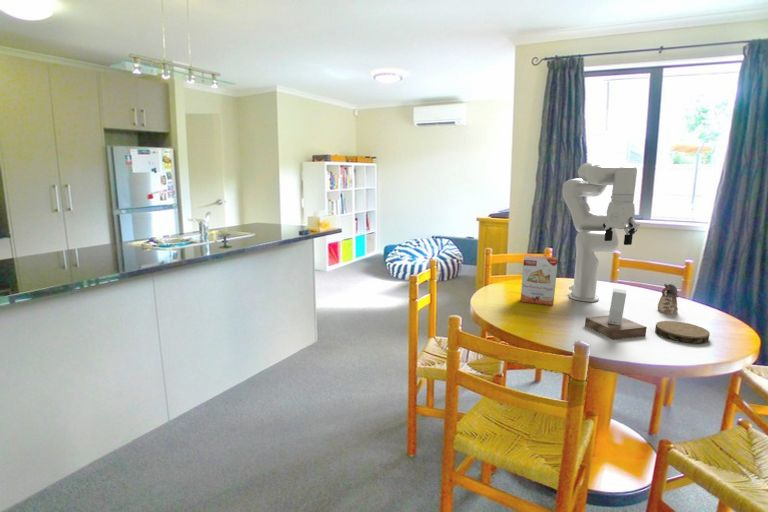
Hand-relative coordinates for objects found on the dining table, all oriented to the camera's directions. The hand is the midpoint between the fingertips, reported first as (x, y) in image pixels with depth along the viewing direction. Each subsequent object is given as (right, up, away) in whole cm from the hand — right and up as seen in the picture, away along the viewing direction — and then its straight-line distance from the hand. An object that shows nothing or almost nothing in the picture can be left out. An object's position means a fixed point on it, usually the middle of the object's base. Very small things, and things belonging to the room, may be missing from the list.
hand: (617, 242), depth 168 cm
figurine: (+28, -29, +13) cm, 42 cm away
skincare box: (-7, -30, -11) cm, 33 cm away
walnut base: (-7, -34, -10) cm, 36 cm away
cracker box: (-23, -26, +24) cm, 42 cm away
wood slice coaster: (+15, -34, -14) cm, 40 cm away
